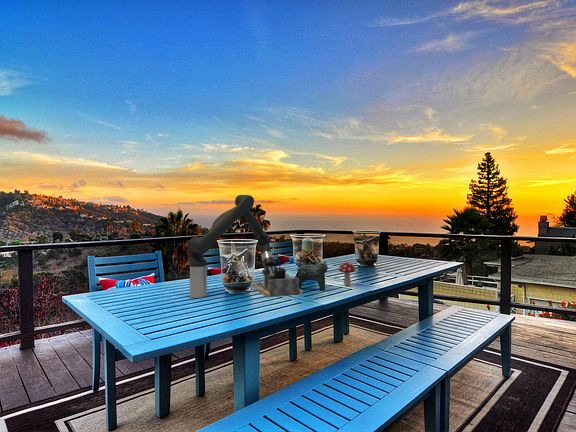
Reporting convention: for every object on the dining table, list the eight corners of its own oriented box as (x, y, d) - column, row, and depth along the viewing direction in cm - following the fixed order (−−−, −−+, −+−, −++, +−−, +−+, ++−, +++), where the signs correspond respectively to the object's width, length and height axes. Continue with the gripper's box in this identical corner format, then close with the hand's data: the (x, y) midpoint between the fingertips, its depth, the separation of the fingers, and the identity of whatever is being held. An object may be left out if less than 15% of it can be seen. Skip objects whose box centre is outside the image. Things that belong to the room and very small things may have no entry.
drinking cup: (281, 294, 198) (281, 260, 197) (270, 292, 202) (270, 259, 201) (288, 291, 204) (288, 258, 204) (277, 290, 208) (278, 257, 208)
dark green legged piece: (327, 289, 211) (327, 257, 211) (327, 291, 205) (327, 258, 204) (295, 288, 213) (295, 256, 213) (294, 291, 207) (294, 258, 206)
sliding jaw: (264, 291, 204) (264, 276, 204) (262, 290, 207) (262, 275, 207) (289, 289, 210) (289, 274, 210) (287, 287, 213) (287, 273, 213)
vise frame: (266, 297, 191) (266, 281, 191) (251, 286, 220) (251, 272, 220) (302, 293, 200) (302, 278, 199) (282, 283, 228) (282, 269, 228)
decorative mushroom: (359, 286, 220) (359, 263, 219) (347, 288, 213) (347, 264, 213) (347, 283, 229) (347, 260, 229) (335, 285, 223) (335, 262, 222)
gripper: (259, 256, 216) (266, 279, 205) (279, 255, 222) (286, 278, 211) (257, 264, 221) (263, 286, 210) (276, 262, 227) (283, 285, 216)
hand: (274, 282), depth 210 cm, fingers closed
